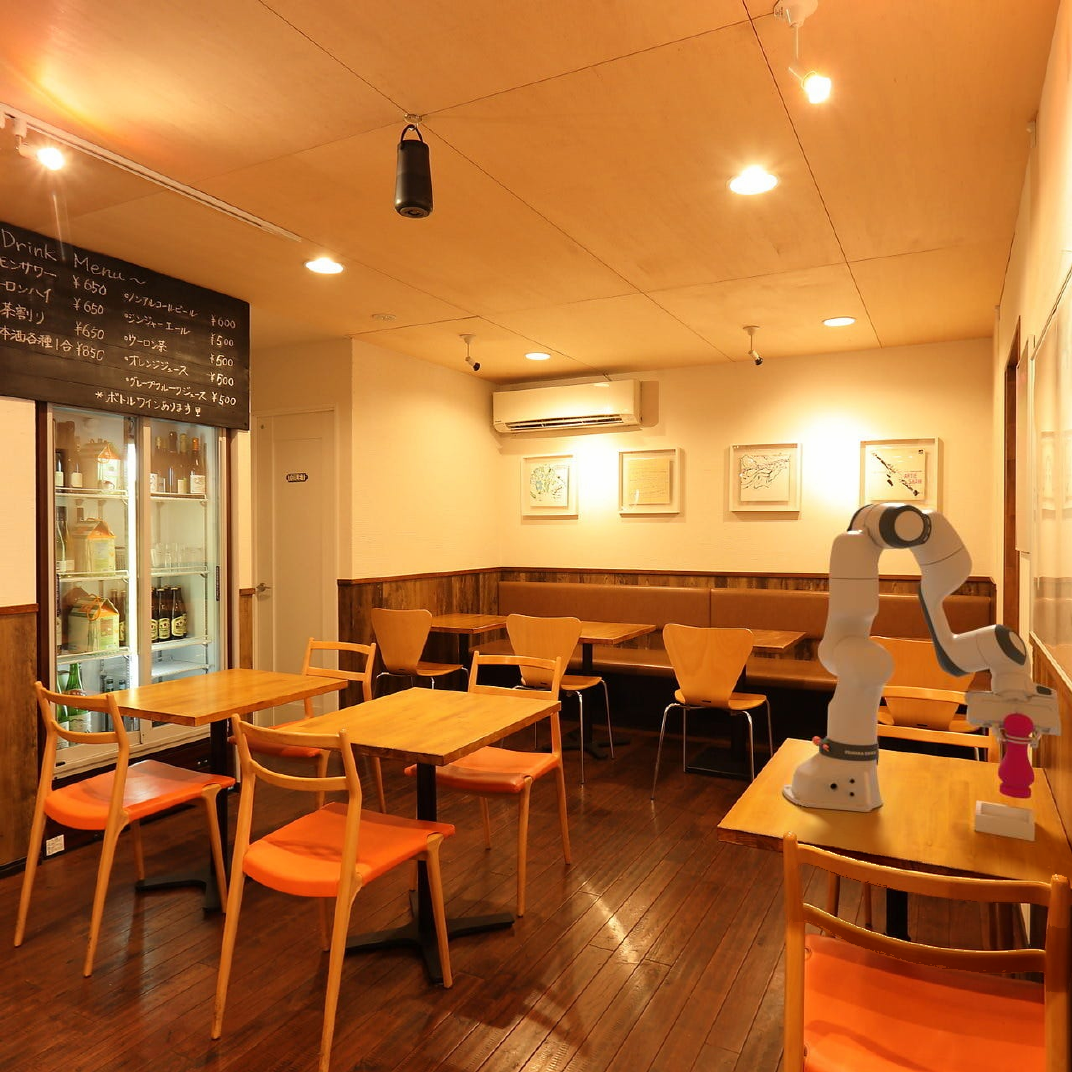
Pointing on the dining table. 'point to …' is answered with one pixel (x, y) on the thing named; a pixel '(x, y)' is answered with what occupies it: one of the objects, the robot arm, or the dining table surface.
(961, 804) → the dining table surface
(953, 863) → the dining table surface
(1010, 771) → the pepper mill
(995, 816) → the mill holder
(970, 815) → the dining table surface
